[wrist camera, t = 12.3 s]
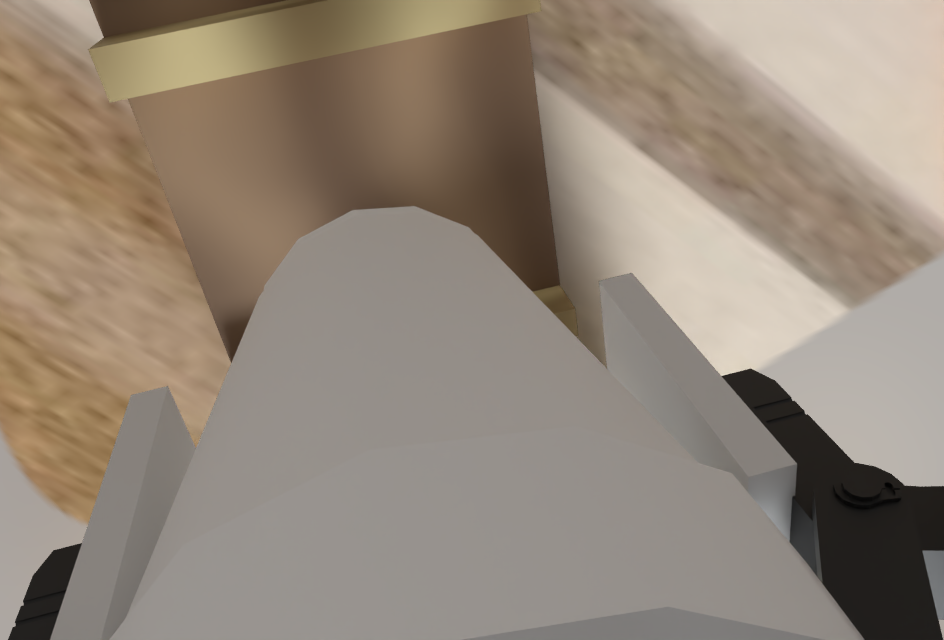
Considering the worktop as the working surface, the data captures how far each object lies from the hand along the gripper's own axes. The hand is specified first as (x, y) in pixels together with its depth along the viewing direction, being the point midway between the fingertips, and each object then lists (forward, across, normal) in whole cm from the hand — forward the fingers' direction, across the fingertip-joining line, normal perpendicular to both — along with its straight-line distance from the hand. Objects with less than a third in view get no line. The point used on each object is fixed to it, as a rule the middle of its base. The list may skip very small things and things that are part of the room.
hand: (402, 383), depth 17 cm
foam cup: (+3, 0, 0) cm, 3 cm away
